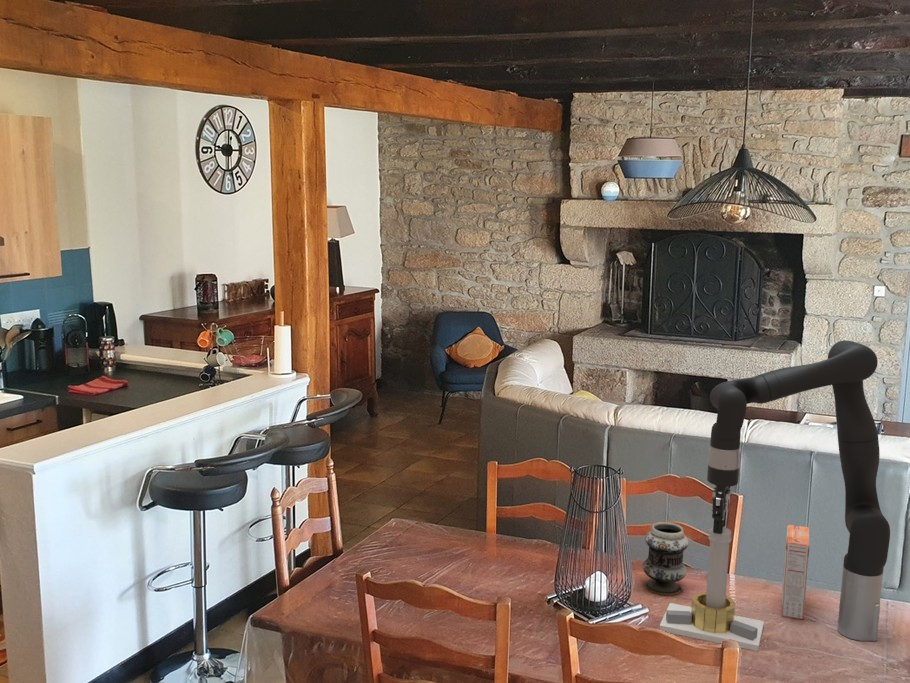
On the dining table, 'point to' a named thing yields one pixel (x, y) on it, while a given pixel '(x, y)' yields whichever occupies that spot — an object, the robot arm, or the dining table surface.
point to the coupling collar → (712, 614)
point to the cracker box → (795, 572)
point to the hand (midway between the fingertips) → (719, 529)
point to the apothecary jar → (665, 558)
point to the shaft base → (740, 631)
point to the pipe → (717, 568)
